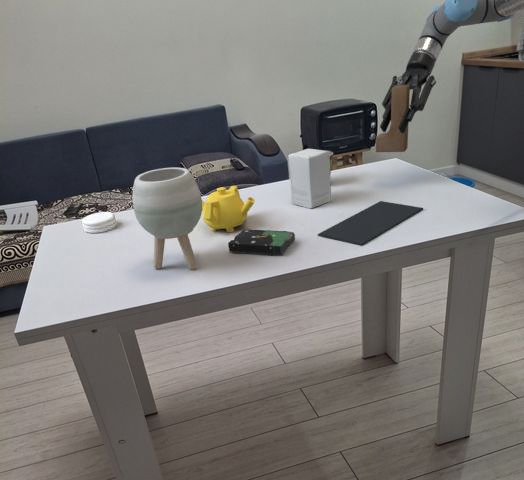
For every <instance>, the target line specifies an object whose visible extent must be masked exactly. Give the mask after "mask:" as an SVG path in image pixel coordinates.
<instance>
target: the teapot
mask: <svg viewBox="0 0 524 480" xmlns="http://www.w3.org/2000/svg"><path fill="white" fill-rule="evenodd" d="M254 203H255V199H254V198H253V197H250V196H249V197H247V199H246V200H245V202H244V200H243V199H242V198H241V195H240V190H239V188H238V185H231V186H230V187H229V189H227V188H226V187H224V186H221V187H217V188H216V191H212V192H211V193H209V195H208V196H207V198H206V201H205V202H204V200H202V220H203V222H204V224H206V225H207V226H208V227H210V229H209V230H210V231H211V232H213V231H218V230H224V229H225V230H226V232H227V233H232V232H234V231H235V229H234V228H235V227H238V226H242V225H243V224H244V222H245V220H246V219H247V218H248V212H249V211H250V210H251V209H252V207H253V205H254Z"/></svg>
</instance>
